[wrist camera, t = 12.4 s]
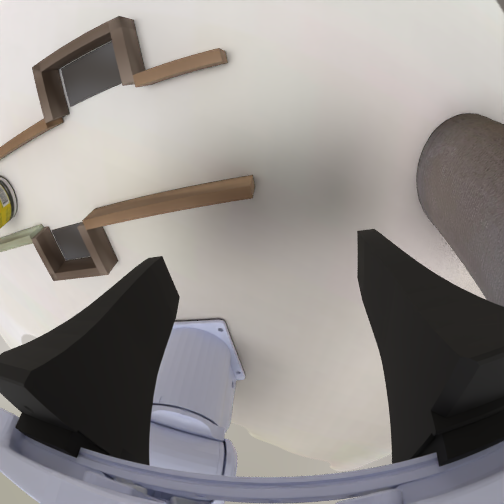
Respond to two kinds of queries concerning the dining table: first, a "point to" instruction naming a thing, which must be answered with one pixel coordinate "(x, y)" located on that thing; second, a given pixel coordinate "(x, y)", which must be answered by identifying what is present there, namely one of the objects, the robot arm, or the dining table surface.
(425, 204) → the pillar candle
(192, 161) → the dining table surface
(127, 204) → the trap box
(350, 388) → the dining table surface
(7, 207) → the supplement bottle
